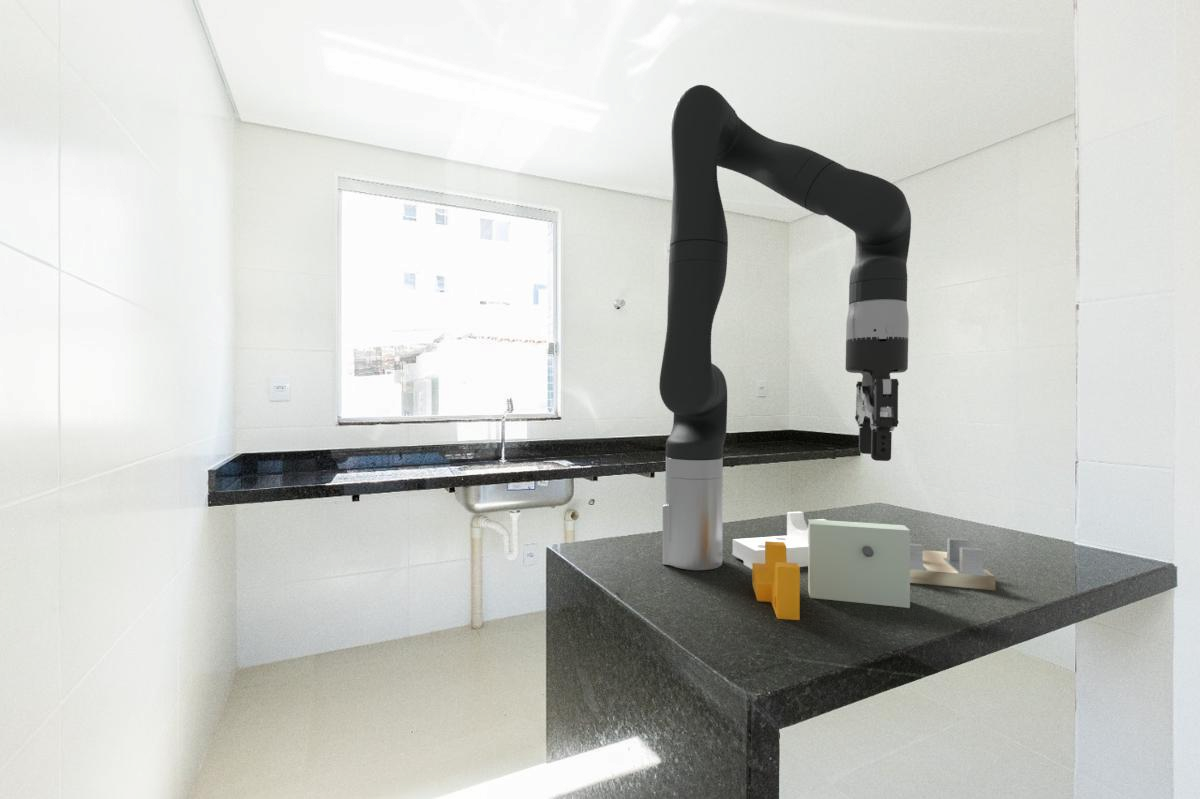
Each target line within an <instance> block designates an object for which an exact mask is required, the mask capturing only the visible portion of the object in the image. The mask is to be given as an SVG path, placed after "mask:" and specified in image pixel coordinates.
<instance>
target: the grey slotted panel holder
mask: <svg viewBox="0 0 1200 799" xmlns="http://www.w3.org/2000/svg"><path fill="white" fill-rule="evenodd" d="M913 540H914V538H913V536H912V535H911V534H910V569H912V570H924V571H926V568H925V567H924V566H923V550H924V548H923V545H922V544H921V543H914V542H913ZM946 552H947V558H943V560H944V561H945V562H946V563H947V564H948V565H950V566H951V567H952V568H953V569H954V570H955V571H956V572H957V573H959V574H971V575H983V576H988V573H986V572H985V571H984V568H985V565H984V564H985V563H984V562H985V555H984V554H985V550H983V549H982V548H979V547H978V548H977V547H970V540H969V539H967V538H957V537H947V538H946Z"/></svg>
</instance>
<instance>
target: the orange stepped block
mask: <svg viewBox="0 0 1200 799" xmlns="http://www.w3.org/2000/svg"><path fill="white" fill-rule="evenodd" d="M751 570H752V572H751V573H752V574H751V575H752V578H751V580H752V583H751V584H752V588H753V591H754V594H755V598H756V601H757V602H767V603H771V606H772V608H773V611H774V613H775V616H776V618H777V619H779V620H780V619H781V620H793V621H801V620H800V619H801V618H800V606H801V605H800V602H801V601H800V598H801V596H800V595H801V588H800V587H801V581H800V580H801V572H800V570H801V567H799V566H798V564H797V563H787V558H786V545H785V543H784V542H769V541H765V564H760V563H752V569H751Z"/></svg>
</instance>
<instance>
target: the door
mask: <svg viewBox="0 0 1200 799" xmlns="http://www.w3.org/2000/svg"><path fill="white" fill-rule="evenodd" d="M807 521H808V524H807V526H808V566H807V568H808V571H807V572H808V574H807V575H808V576H807V579H808V580H807V581H808V582H807V583H808V584H807V586H808V587H807V588H808V589H807V590H808V595H809V598H811V599H819V600H830V601H831V600H832V601H838V602H839V601H840V602H848V603H859V604H868V605H869V604H870V605H878V606H889V607H898V608H904V609H905V608H906V609H911V608H910V607H911V583H910V535H911V530H910V529H909V528H908V527H907V526H906V525H905V524H904V525H903V524H892V523H891V524H890V523H889V524H888V523H876V522H875V523H874V522H859V521H845V520H844V521H841V520H828V519H825V520H814V518H813V519H812V518H811V519H810V518H808V520H807Z"/></svg>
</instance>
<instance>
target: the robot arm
mask: <svg viewBox="0 0 1200 799" xmlns="http://www.w3.org/2000/svg"><path fill="white" fill-rule="evenodd" d="M670 139H671V140H670V141H671V160H672V161H671V162H672V198H671V199H672V203H671V224H670V228H671V230H670V239H669V241H670V242H669V256H668V287H667V288H668V290H667V319H666V320H667V321H666V322H667V323H666V324H667V325H666V333H665V334H666V335H665V342H664V349H663V355H662V362H661V366H660V373H659V374H660V375H659V382H658V384H659V386H658V387H659V394H660V397H661V400H662V402H663V404H664V405H665V407H666V409H668V410H669V411H670V412H672V413H673V421H672V422H673V423H672V429H671V432H670V434H669V436H668V438H667V439H666V441H665V503H663V506H662V565H667V566H671V567H674V568H678V569H681V570H682V569H683V570H689V571H708V570H709V571H710V570H715V569H718V568H720V567H721V566H722V565H723V554H724V551H723V526H724V525H723V523H724V522H723V521H724V520H723V515H724V514H723V511H724V510H723V502H724V500H723V498H724V496H723V493H724V492H723V491H724V490H723V488H724V487H723V486H724V485H723V483H724V482H723V480H724V479H723V477H724V476H723V473H724V472H723V470H724V469H723V468H724V466H723V461H724V459H723V458H724V457H723V456H724V444H725V441H726V438H727V426H728V425H727V423H728V422H727V418H728V386H727V380H726V377H725V375H724V373H723V371H722V370H721V369H720V368H719V367H718V366H717V365H715V364H713V363H712V330H713V329H712V328H713V323H714V319H715V316H716V312H717V309H718V306H719V304H720V300H721V296H722V295H723V291H724V287H725V283H726V277H727V269H728V250H729V246H728V245H729V238H728V236H729V234H728V228H727V221H726V216H725V211H724V207H723V201H722V197H721V194H720V188H719V181H718V167H719V168H723V169H727V170H730V171H733V172H736V173H738V174H741V175H743V176H746V177H748V178H750V179H753V181H756V182H758V183H759V184H761V185H763V186H765V187H766V188H768V189H770V190H772V191H774V192H775V193H777V194H778V195H780V196H782V197H784V198H786V199H788V200H789V201H790V202H793V203H794V204H796V205H798V206H799V207H802V208H803V209H806V210H807V211H809V212H810V213H814V214H816V215H819V216H828V217H829V218H831V219H833V220H834V221H837V222H838V223H840V224H842V225H843V226H845V227H846V228H848V229H850V230H851V231H853V233H854V234H855V256H854V257H855V259H854V261H855V263H854V265H853V266H852V267H851V270H850V273H849V274H850V275H849V284H848V285H849V286H848V311H847V317H846V324H845V326H846V328H845V331H846V332H845V334H846V335H845V371H846V372H848V373H851V374H861V375H862V378H861V381H857V382H856V384H855V386H856V387H855V388H856V401H855V407H856V408H855V416H854V419H855V422H856V424H857V427H858V428H859V430H858V431H859V435H858V452H860V453H861V454H865V455H870V457H871V459H872V460H874V461H879V462H880V461H881V462H889V461H890V460H891V459H892V438H893V433H892V432H894V430H895V428H897V427H898V424H899V420H898V418H899V383H900V382H899V380H898V378H891V374H900V373H905V372H906V371H907V370H908V369H909V368H908V367H909V364H908V363H909V327H910V325H909V323H910V320H909V319H910V318H909V312H908V268H907V263H908V257H909V256H908V255H909V251H910V250H909V248H910V242H911V234H912V233H911V231H912V214H911V209H910V206H909V203H908V201H907V197H906V195H905V194H904V192H903V191H902V190H901V189H900V188H899V186H897V185H895V184H893V182H890V181H889V180H886V179H884V178H882V177H880V176H876V175H874V174H870V173H868V172H863V171H860V170H857V169H852V168H849V167H846V166H844V165H843V164H841V163H839V162H837V161H835V160H833V159H831V158H829V157H826V156H824V155H822V154H820V153H818V152H816V151H814V150H812V149H810V148H806V147H804V146H799V145H796V144H792V143H788V142H787V143H786V142H781V141H777V140H774V139H772V138H769V137H766V136H765V135H763V134H761V133H759V132H758V131H756V130H755V129H754V128H753V127H751V126H750V125H749V124H747V123H746V122H745V121H744V120H742V119H741V118H740V117H739V116H738V115H737V112H736V110H735V108H733V106H732V105H731V104H730V103H729V102H728V101H727V99H726V98H725V97H724V96H723V95H722V94H721V93H720V92H719V91H718V90H716V89H715V88H713V87H711V86H709V85H706V84H697V85H694V86H692V87H690V88H688V89H687V90H686V91H685V92H683V93H682V95H681V96H680V97H679V99H678V101H677V102H676V104H675V107H674V108H673V111H672V115H671V122H670Z"/></svg>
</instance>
